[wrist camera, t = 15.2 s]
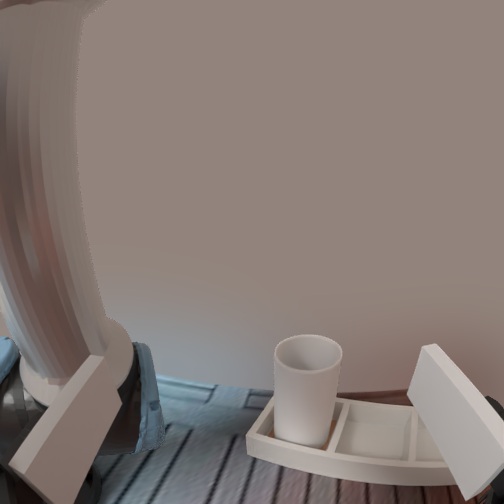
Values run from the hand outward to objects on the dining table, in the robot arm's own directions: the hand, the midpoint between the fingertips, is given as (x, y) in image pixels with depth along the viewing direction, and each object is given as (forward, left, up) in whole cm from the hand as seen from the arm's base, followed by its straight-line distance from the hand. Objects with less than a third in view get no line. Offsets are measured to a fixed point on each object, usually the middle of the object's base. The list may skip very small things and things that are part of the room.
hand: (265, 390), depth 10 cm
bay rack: (+7, +20, -29) cm, 36 cm away
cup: (-4, +20, -28) cm, 35 cm away
